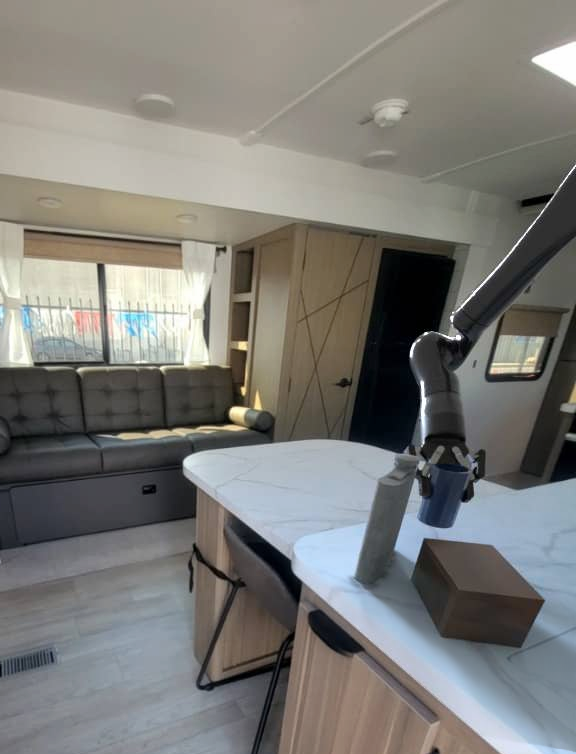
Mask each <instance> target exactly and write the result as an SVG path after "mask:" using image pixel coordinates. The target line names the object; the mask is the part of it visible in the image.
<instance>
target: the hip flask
mask: <svg viewBox="0 0 576 754" xmlns="http://www.w3.org/2000/svg"><path fill="white" fill-rule="evenodd" d="M393 461H394V463H393V468H392V470H391V471H389V472H388V473H387V474H385V475H383V476H381V477H379V478H377V480H376V485H375V489H374V492H373V493H374V494H373V497H372V501H371V504H370V508H369V513H368V518H367V522H366V525H365V529H364V533H363V538H362V542H361V547H360V550H359V554H358V558H357V563H356V566H355V570H354V575H353V578H354V579H355V581H358V582H360V583H362V584H368V585H369V584H373V583H374V582H376V581H377V580H378V579H379V578H380V577H382V575H383V574H384V573H385V572H386V570H387V569H388V567H389V566H390V563H391V562H392V558H393V555H394V552H395V548H396V546H397V542H398V538H399V534H400V531H401V528H402V524H403V521H404V517H405V514H406V510H407V506H408V503H409V500H410V497H411V493H412V490H413V486H414V483H415V479H416V478H415V476H416V472H417V469H418V468H419V464H420V461H421V458H420V457H418V456H417V457H416V456H413V455H409V454H404V453H397V454H395V455H394V458H393Z"/></svg>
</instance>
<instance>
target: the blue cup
mask: <svg viewBox="0 0 576 754" xmlns="http://www.w3.org/2000/svg"><path fill="white" fill-rule="evenodd" d="M440 464H441V462H437V463H436V464H434V463H433V465H432V469H431V472H430V474H429V476H428V477H430V484H431V496H430V497H429V498H428V499H422V498H421V503H420V506H419V510H418V514H417V518H416V519H417V520H418V521H419V522H420V523H422V524H424V525H426V526H429V527H432V528H435V529H450V528H453V527H454V525H455V523H456V519H457V516H458V513H459V511H460V508H461V505H462V499H463V496H464V493H465V490H466V488H467V485H468V482H469V479H470V476H471V473H472V470H471V468H470V466H469V467H466V466H462V465H460V464H455V463H451V464H452V465H453V466H449V465H440Z"/></svg>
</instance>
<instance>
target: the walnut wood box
mask: <svg viewBox="0 0 576 754" xmlns="http://www.w3.org/2000/svg"><path fill="white" fill-rule="evenodd" d="M410 580H411V582H412V584H413V586H414V588H415V590H416V592H417V594H418V596H419V598H420V600H421V601H422V603H423V605H424V607H425V609H426V611H427V613H428V615H429V616H430V619H431V620H432V622H433V624H434V625H435V628H436V630H437V632H438V633H439V635H440V637H441V638H445V639H454V640H459V641H460V640H461V641H468V642H475V643H484V644H489V645H498V646H503V647H504V646H505V647H511V648H518V649H521V648H522V647H523V646H524V643H525V641H526V639H527V637H528V636H529V633H530V631H531V629H532V628H533V626H534V623H535V621H536V619H537V618H538V616H539V613H540V612H541V610H542V608H543V606H544V604H545V602H546V599H545V598H544V597H543V596H542V595H541V594H540V593H539V592H538V591H537V590H536V589H535V588H534V587H533V586H532V585H531V584H530V583H529V581H528V580H527V579H526V578H524V576H523V575H522V574H521V573H519V571H518V570H517V569H516V568H515V567H514V566H513V565H512V564H511V563H510V562H509V561H508V560H507V559H506V558H505V557H504V556H503V555H502V553H501V552H500V551H499V550H497V548H496V547H495V546H494V545H493V544H486V543H476V542H467V541H460V540H459V541H457V540H449V539H437V538H428V537H423V540H422V541H421V546H420V549H419V551H418V555H417V559H416V562H415V564H414V568H413V571H412V574H411V577H410Z"/></svg>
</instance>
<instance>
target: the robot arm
mask: <svg viewBox="0 0 576 754" xmlns="http://www.w3.org/2000/svg"><path fill="white" fill-rule="evenodd" d="M575 239H576V164H575V165H574V167H573V168H572V169H571V170H570V171H569V173H568V174H567V176H566V177H565V178H564V180H563V181H562V183H561V184H560V186H559V187H558V188H557V190H556V191H555V193H554V194H553V196H551V198H550V199H549V201H548V202H547V203H546V205H545V206H544V207H543V209H542V210H541V211H540V213H539V214H538V216H537V217H536V218H535V219H534V220H533V222H532V223H531V225H530V226H529V227H528V228H527V229H526V231H525V232H524V233H523V235H522V236H521V237H520V238H519V239H518V241H516V243H515V244H514V245H513V246H512V248H511V249H510V250H509V251H507V253H506V254H505V255H504V256H503V257H502V258H501V260H500V261H499V262H498V263H497V264H496V265H495V266H494V267H493V268H492V269H491V271H489V273H487V275H486V276H484V278H483V279H482V280H481V281H480V282H479V283H478V284H477V285H476V286H475V287H474V288H473V290H472V291H471V292H470V293H469V294H468V295H467V296H466V297H465V298H464V299H463V300H462V301H461V303H459V305H458V306H457V307H456V308H455V309H454V311H453V312H452V313H451V315H450V318H449V319H450V324H451V325H452V327H453V328H454V330H456V331H457V332H456V335H454V336H453V337H449V336H446V335H444V334H441V333H438V332H435V331H426V332H424V333H421V335H419V336H418V337H417V338H416V339H415V340H414V341H413V343H412V345H411V347H410V350H409V365H410V368H411V371H412V373H413V376H414V379H415V382H416V384H417V385H418V388H419V403H420V407H419V415H418V416H419V418H418V422H419V438H420V446H415V445H414V444H412V443H411V444H409V445H408V446H407V447H406V448H405V449H404V450H403V454H409V455H413V456H416V457H418V456H419V455H420V456H421V458H422V459H423V460H424V461H425V463H424V464H423V466H422V467H421V469H419V467H418V469H417V472H416V476H415V479H416V481H417V483H418V495H419V497H421V500H422V499H428V498H429V497H430V496H431V484H430V477H429V475H430V472H431V469H432V465H433V463H434V464H436V463H437V462H441V464H440V465H449V466H453V465H452V464H451V463H455V464H460V465H462V466H466V467H469V468H470V466H471V468H470V469H471V470H472V473H471V476H470V479H469V482H468V485H467V488H466V490H465V493H464V496H463V499H462V502H461V504H462V503H463V504H467V503H469V502H470V501H471V500H472V499H474V497H475V487H474V484H477V483H478V482H479V481H480V480H482V479H484V478H485V477H486V459H487V457H486V455H487V452H486V450H485V449H483V448H481V449H479V450H472V449H469V447H468V446H467V444H466V441H467V440H466V439H467V435H466V434H467V433H466V432H467V431H466V422H465V412H464V411H465V410H464V404H463V400H462V392H461V383H460V378H459V376H458V375H457V373H456V372H455V371H457V370H459V368H461V366H462V365H463V364H464V363H465V362H466V360H467V359H468V357H469V355H471V352H472V351H473V350H474V348H475V346H476V345H477V343H478V342H479V341H480V339H481V337H482V336H483V335H484V333H485V332H486V331H487V330H488V329H489V328H490V327H491V326H492V325H493V324H494V323H496V321H497V320H498V319H500V317H501V316H502V315H504V313H505V312H506V311H508V310H509V308H511V307H512V305H514V304H515V302H516V301H517V300H518V299H519V298H520V297H521V296H522V295H523V294H524V292H525V291H526V290H527V289H528V288H529V287H530V285H531V284H532V283H533V282H534V281H535V280H536V278H537V277H538V276H539V274H540V273H541V272H542V271H543V270H544V269H545V268H546V267H547V266H548V265H549V263H550V262H551V261H552V260H554V258H555V257H556V256H557V255H558V254H559V253H561V251H563V250H564V249H565V248H566V247H568V245H569V244H570V243H571V242H573V241H574V240H575ZM466 458H468V460H469V461H467V460H466ZM468 462H469V463H470V464H471V465H469V463H468Z"/></svg>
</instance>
